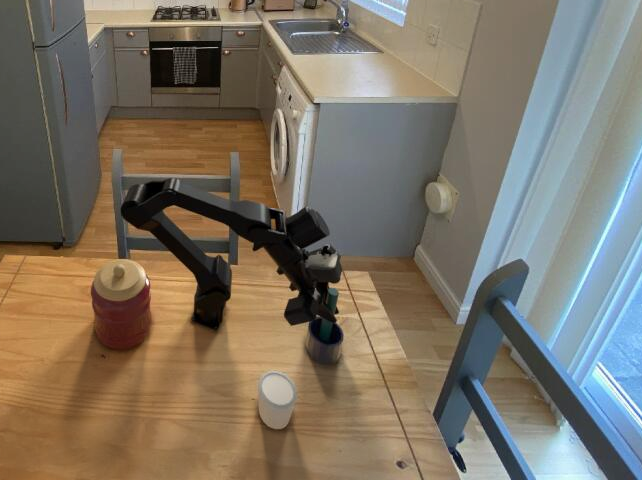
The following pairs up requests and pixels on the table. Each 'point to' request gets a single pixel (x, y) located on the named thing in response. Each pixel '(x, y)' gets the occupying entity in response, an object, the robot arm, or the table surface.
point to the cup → (324, 342)
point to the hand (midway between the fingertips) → (335, 317)
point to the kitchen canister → (121, 304)
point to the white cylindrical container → (276, 398)
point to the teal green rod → (332, 302)
